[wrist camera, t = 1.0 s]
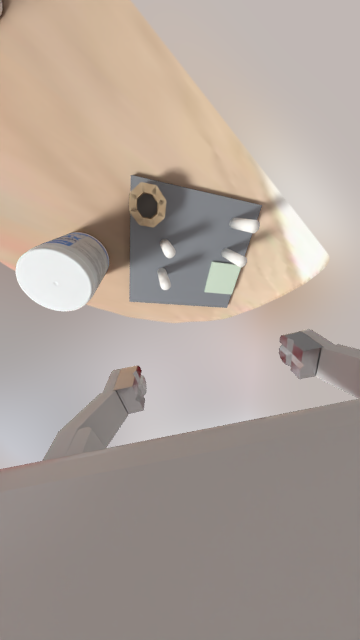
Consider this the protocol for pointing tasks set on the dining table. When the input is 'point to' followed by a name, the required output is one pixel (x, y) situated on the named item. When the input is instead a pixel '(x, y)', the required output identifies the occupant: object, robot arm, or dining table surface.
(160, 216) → the ring
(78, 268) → the supplement tub
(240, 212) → the board
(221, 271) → the pad
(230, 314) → the dining table surface
